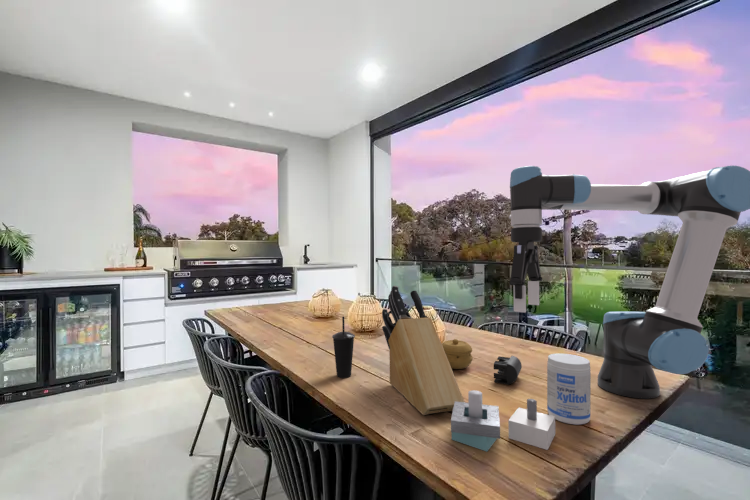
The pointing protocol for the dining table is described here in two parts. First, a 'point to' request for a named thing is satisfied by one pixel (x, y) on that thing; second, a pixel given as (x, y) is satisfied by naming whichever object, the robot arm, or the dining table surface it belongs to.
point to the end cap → (507, 370)
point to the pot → (458, 353)
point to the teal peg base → (474, 412)
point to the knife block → (418, 358)
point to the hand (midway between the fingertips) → (527, 308)
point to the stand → (532, 426)
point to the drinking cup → (343, 352)
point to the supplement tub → (568, 388)
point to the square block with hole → (475, 421)
